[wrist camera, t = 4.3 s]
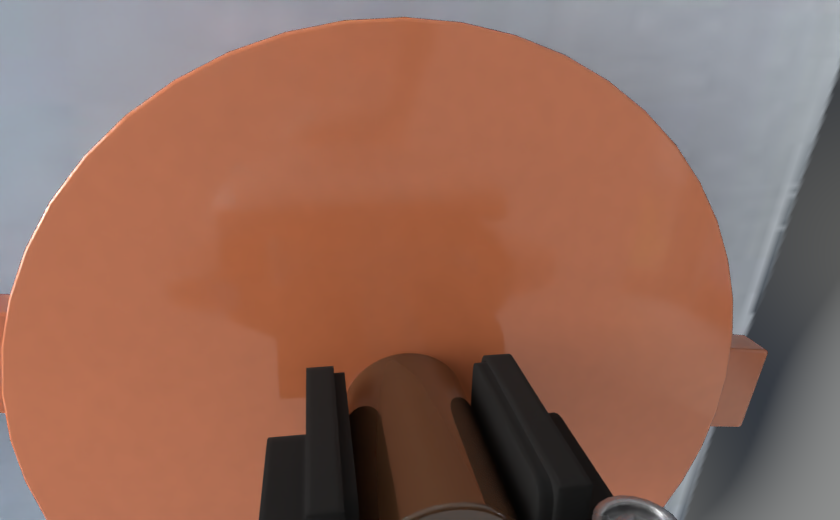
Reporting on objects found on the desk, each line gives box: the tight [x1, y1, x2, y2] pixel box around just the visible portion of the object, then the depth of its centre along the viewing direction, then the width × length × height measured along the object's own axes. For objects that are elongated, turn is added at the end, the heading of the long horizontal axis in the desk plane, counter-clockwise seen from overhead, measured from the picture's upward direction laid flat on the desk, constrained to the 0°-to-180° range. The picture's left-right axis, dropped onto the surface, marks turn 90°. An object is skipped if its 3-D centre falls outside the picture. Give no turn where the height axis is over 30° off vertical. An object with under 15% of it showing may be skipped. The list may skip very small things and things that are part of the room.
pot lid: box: [1, 17, 733, 520], centre depth 11 cm, size 15×15×6 cm
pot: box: [0, 294, 768, 427], centre depth 17 cm, size 14×20×8 cm
